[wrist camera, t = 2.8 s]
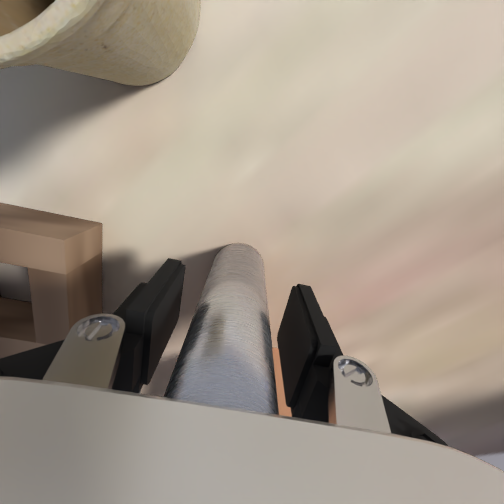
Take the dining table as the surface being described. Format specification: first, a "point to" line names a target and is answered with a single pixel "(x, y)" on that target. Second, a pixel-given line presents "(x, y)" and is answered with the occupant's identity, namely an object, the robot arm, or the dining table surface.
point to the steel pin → (229, 338)
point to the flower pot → (99, 36)
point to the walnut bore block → (48, 276)
